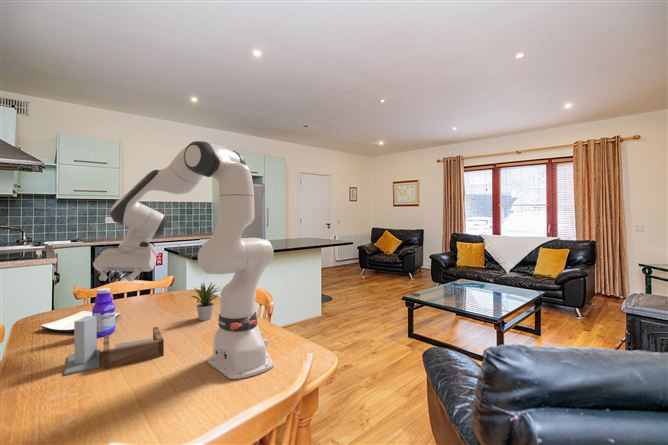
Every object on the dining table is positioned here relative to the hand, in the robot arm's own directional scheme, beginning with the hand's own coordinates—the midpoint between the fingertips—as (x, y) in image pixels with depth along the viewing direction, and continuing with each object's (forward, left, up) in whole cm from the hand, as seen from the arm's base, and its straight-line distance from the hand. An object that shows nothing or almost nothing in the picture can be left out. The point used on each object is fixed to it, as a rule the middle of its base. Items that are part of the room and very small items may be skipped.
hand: (115, 280), depth 110 cm
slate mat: (-10, +8, -23) cm, 27 cm away
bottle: (+14, +4, -23) cm, 27 cm away
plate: (+31, +10, -24) cm, 40 cm away
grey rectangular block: (-10, +8, -22) cm, 26 cm away
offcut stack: (-14, -5, -23) cm, 28 cm away
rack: (-10, -4, -23) cm, 25 cm away
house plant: (+10, -33, -23) cm, 41 cm away
